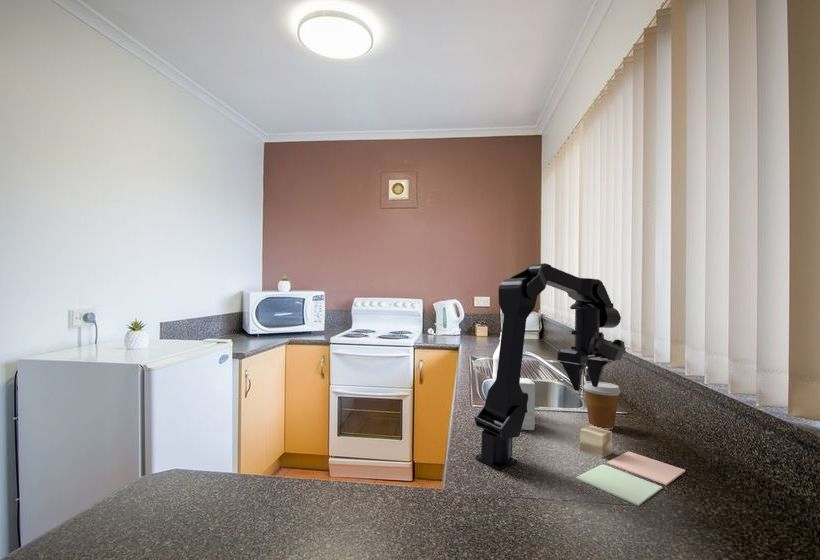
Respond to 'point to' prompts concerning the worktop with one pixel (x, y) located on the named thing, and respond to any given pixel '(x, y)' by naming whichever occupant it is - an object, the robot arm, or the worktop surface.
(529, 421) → the supplement box
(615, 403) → the disposable coffee cup
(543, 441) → the worktop surface
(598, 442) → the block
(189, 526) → the worktop surface
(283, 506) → the worktop surface
